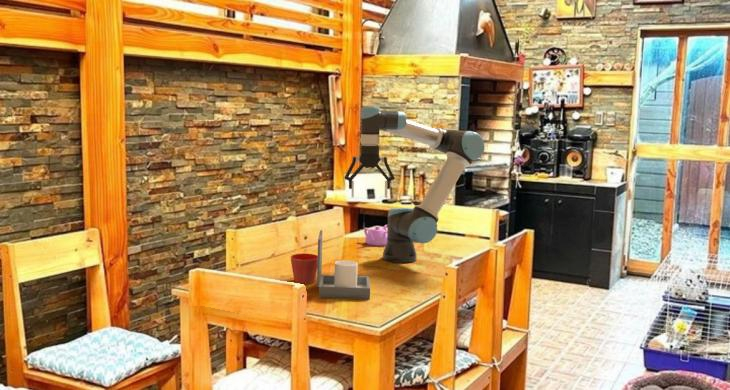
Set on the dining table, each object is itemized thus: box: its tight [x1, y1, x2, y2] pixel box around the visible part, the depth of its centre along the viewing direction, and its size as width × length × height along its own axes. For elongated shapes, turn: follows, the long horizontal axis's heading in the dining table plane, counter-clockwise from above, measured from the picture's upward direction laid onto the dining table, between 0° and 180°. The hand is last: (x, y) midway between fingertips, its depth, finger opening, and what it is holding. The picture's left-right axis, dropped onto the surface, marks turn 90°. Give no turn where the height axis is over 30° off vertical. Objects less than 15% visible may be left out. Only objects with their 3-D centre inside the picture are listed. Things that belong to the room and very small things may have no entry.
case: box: [316, 229, 371, 300], centre depth 256 cm, size 19×19×21 cm
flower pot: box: [290, 252, 318, 284], centre depth 269 cm, size 11×11×10 cm
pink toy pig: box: [363, 224, 388, 247], centre depth 344 cm, size 12×14×9 cm
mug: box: [333, 260, 359, 287], centre depth 256 cm, size 12×8×10 cm
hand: (369, 197), depth 286 cm, fingers open, 13 cm apart
